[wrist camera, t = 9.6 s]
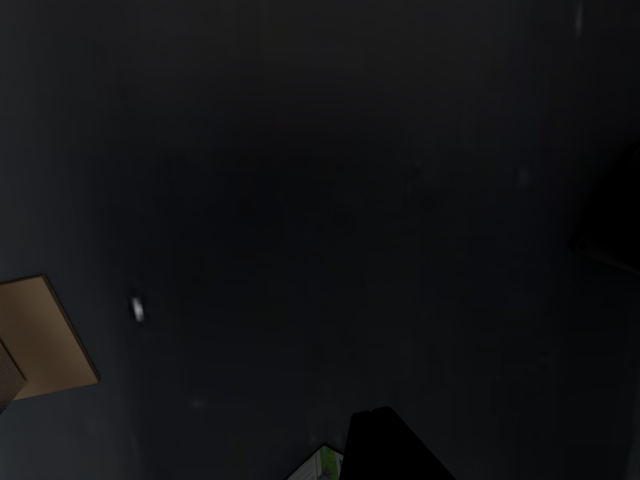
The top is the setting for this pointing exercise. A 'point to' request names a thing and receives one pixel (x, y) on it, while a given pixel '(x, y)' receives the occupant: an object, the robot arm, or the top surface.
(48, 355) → the track bed
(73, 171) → the top surface
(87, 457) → the top surface
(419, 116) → the top surface
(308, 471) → the syrup box
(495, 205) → the top surface
